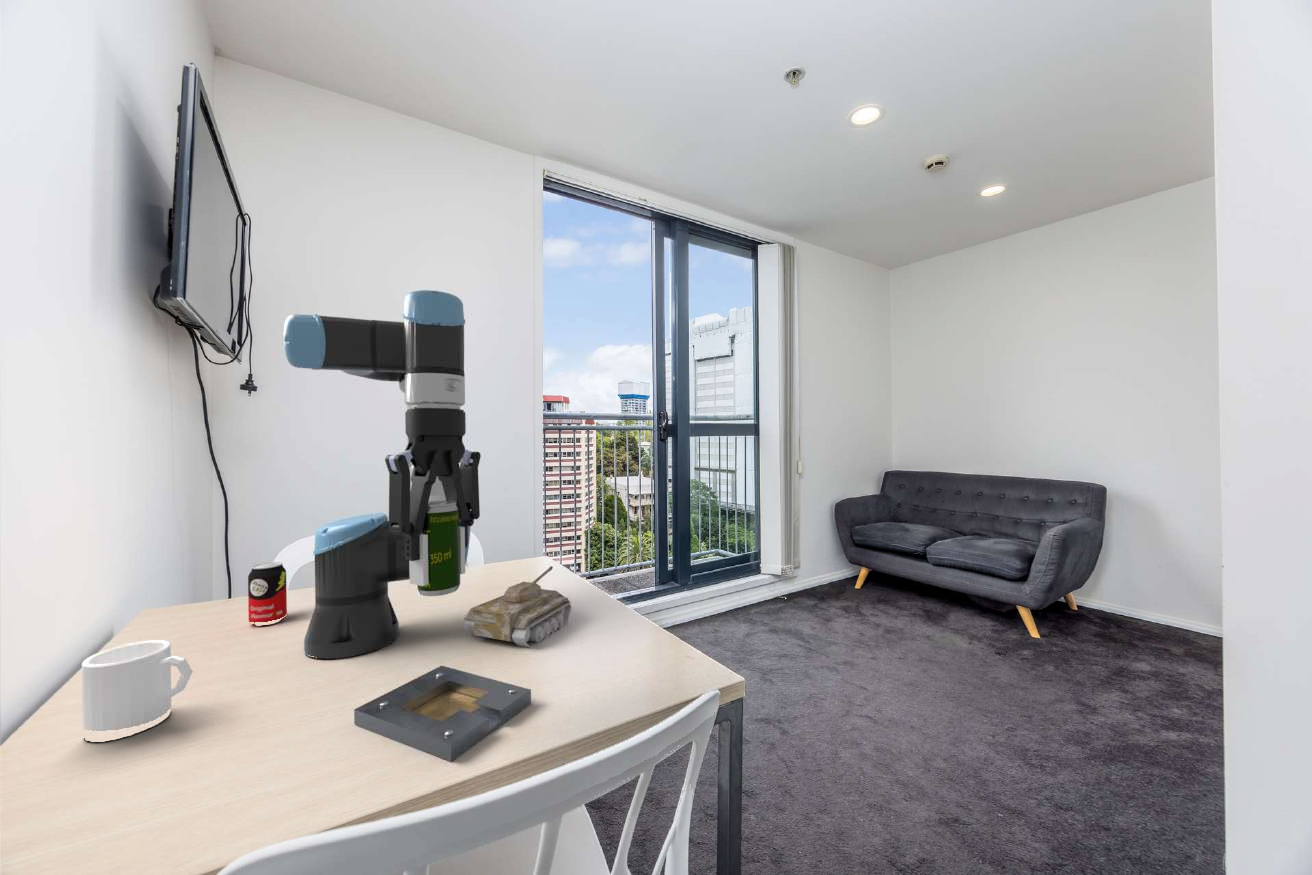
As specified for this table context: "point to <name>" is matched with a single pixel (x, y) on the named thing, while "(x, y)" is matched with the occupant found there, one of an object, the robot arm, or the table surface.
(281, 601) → the beverage can
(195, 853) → the table surface
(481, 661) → the table surface
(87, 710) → the mug
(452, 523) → the beer can
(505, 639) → the toy tank
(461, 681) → the chassis plate
